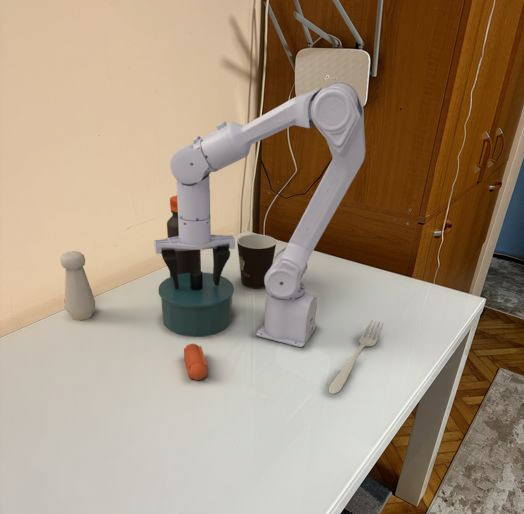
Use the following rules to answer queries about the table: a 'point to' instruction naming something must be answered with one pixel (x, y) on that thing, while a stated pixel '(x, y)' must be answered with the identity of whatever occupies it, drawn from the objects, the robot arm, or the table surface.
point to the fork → (354, 359)
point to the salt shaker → (77, 287)
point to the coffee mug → (255, 258)
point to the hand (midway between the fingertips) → (196, 285)
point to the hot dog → (195, 362)
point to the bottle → (185, 259)
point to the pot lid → (196, 290)
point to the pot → (197, 318)
